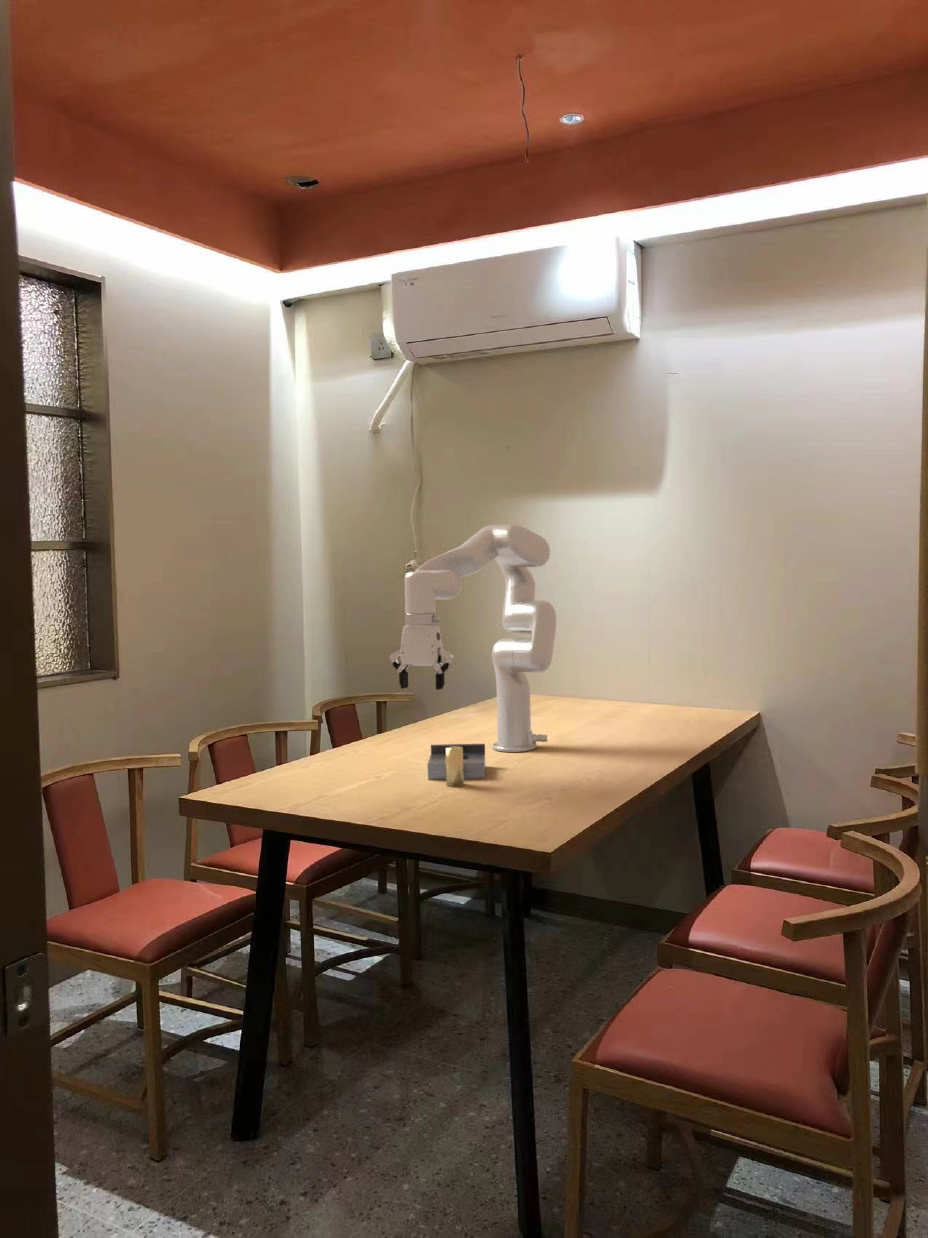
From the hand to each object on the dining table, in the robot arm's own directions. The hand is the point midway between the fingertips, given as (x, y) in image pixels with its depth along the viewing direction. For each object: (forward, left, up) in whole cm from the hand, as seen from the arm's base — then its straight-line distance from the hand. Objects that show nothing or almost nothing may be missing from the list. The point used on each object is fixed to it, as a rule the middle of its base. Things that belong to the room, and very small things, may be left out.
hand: (421, 688), depth 245 cm
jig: (-8, -2, -22) cm, 24 cm away
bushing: (-8, +11, -22) cm, 26 cm away
